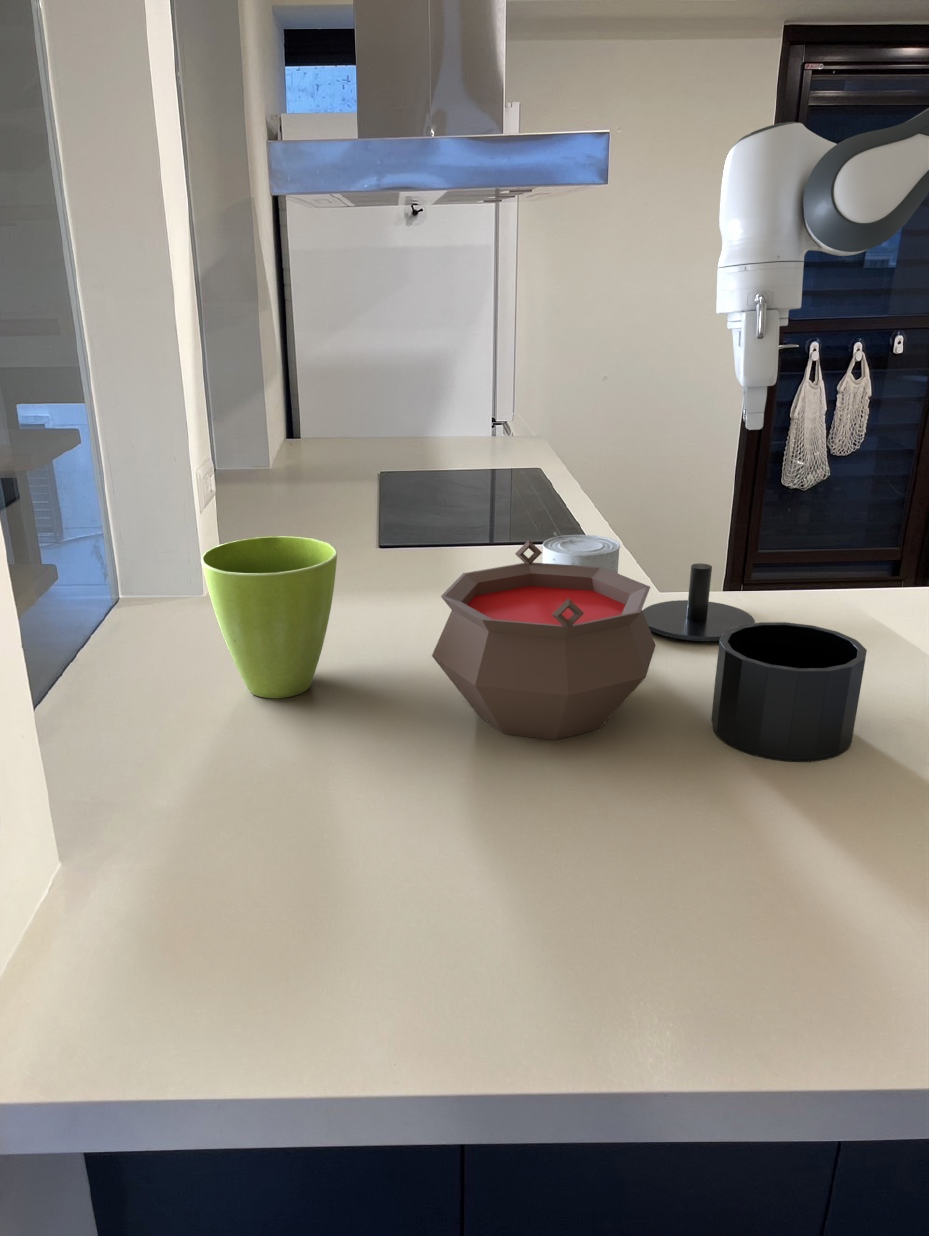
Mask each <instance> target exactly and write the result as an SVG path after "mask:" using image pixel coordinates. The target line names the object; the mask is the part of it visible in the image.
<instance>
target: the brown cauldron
mask: <svg viewBox="0 0 929 1236" xmlns="http://www.w3.org/2000/svg"><path fill="white" fill-rule="evenodd" d="M527 550H530V551H531V552H532V554H531V555H530V556H529V557H528V556H527V555H526V554H525V553H526V552H527ZM542 554H543V551H541V550H540V549H539V548H538V547H537V546H536V545H535V544H534V542H532V541H531V540H530V539H528V540H527V541H526V542H525V543H524V544H523V545H522V546H521V547H520V548H519V549H517V551H516V552H515V553H514V555H515V556H516V557H518V558H519V559H520V560H521V561H522V562H521V563H515V564H508V565H503V566H497V567H491V568H485V569H480V570H473V571H468V572H463V573H462V574H461V575H459V577H458V578H457V579H456V580H455V581H454V582H453V583H452V584H451V585H450V586H449V587H448V588H447V589H446V590H445V591H444V592H443V593H442V594H441V595H440V598H442V600H443V601H444V603H445V604H446V605H447V606H448V607H449V609H451V611H450V613H449V616H448V618H447V620H446V622H445V624H444V627H443V629H442V631H441V634H440V636H439V638H438V640H437V642H436V645H435V647H434V649H433V652H432V654H431V657H432V658H433V659H434V661H435V663H437V665H438V666H439V667H440V669H441V670H442V671H443V673H444V674H445V675H446V676H447V677H448V679H449V680H450V682H451V683H452V684H453V685H454V686H455V688H456V689H457V691H459V693H460V695H462V697H463V699H465V701H466V702H467V703H468V705H469V706H470V707H471V708H472V710H473V711H474V712H475V714H476V715H477V716H479V717H480V718H481V719H482V720H484V721H485V722H486V723H488V724H490V725H491V726H492V727H493V728H495V729H496V730H498V731H499V732H500V733H502V734H503V735H510V736H516V737H517V736H519V737H526V738H533V739H541V740H542V739H544V740H551V741H559V740H561V739H566V738H569V737H573V736H578V735H582V734H585V733H589V732H594V731H597V730H600V729H601V728H602V727H603V726H604V725H605V724H606V722H607V721H608V720H609V719H610V718H611V717H612V716H613V715H614V713H616V711H617V710H618V709H619V708H620V707H621V706H622V705H623V703H624V702H625V701H626V700H627V699H628V698H629V696H631V695H632V693H633V692H634V691H635V690H636V689H637V688H638V686H639V685H640V684H641V683H642V682H644V680H645V679H646V678H647V676H648V675H647V674H648V671H649V668H650V665H651V662H652V660H653V655H654V652H655V649H656V646H657V644H656V642H655V638H654V636H653V634H652V631H651V630H650V629H649V626H648V624H647V621H646V619H645V616H644V614H643V611H642V610H643V609H644V608H643V607H644V606H645V603H646V600H647V598H648V594H649V592H650V589H651V586H650V585H648V584H645V583H642V582H639V581H638V580H635V579H633V578H630V577H628V576H625V575H622V574H620V573H619V572H618V573H615V572H613V571H610V570H608V569H605V568H603V567H593V566H578V565H563V564H548V563H543V562H535V560H536V559H538V557H539V556H541V555H542Z"/></svg>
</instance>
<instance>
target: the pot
mask: <svg viewBox="0 0 929 1236" xmlns="http://www.w3.org/2000/svg"><path fill="white" fill-rule="evenodd" d="M717 652H718V653H717V660H716V670H715V679H714V690H713V698H712V706H711V707H712V708H711V717H710V718H711V719H710V721H711V729H712V731H713V733H714V734H715V736H716V737H717V738H718V739H719V740H721V741H722V742H723V743H725V744H727V745H728V746H729V747H732V748H733V749H735V750H738V751H740V752H743V753H746V754H749V755H752V756H755V757H759V758H764V759H769V760H774V761H782V762H796V763H797V762H798V763H803V762H806V763H807V762H818V761H824V760H828V759H832V758H836V757H838V756H840V755H842V754H844V753H845V752H846V751H848V750H849V749H850V747H851V745H852V743H853V736H854V731H855V725H856V724H855V723H856V719H857V712H858V707H859V699H860V694H861V689H862V684H863V683H862V682H863V676H864V670H865V666H866V665H865V664H866V658H867V652H868V651H867V648H865V646H863V644H861V642H860V641H859V640H857V639H856V638H853V637H851V636H849V635H847V634H844V633H842V632H840V631H837V630H833V629H828V628H824V627H821V626H816V625H812V624H804V623H795V622H786V621H782V622H781V621H779V622H778V621H773V622H769V621H768V622H766V621H765V622H764V621H763V622H762V621H760V622H755V623H753V624H747V625H741V626H737V627H735V628H733V629H730V630H728V631H726V632H724V633H723V635H722V637H721V639H720V641H718V651H717Z"/></svg>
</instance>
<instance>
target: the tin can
mask: <svg viewBox="0 0 929 1236" xmlns="http://www.w3.org/2000/svg"><path fill="white" fill-rule="evenodd" d="M620 549H621V544H620V542H618V541H616V540H615V539H612V538H609V537H605V536H601V535H592V534H564V535H557V536H553V537H550V538H547V539H546V540H543V542H542V563H548V564H563V565H578V566H593V567H603V568H605V569H608V570H610V571H613V572H615V573H618V574H619V558H620Z"/></svg>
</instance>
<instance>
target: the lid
mask: <svg viewBox="0 0 929 1236" xmlns="http://www.w3.org/2000/svg"><path fill="white" fill-rule="evenodd" d="M712 571H713V566H712V565H711V564H707V563H701V562H700V563H692V564H691V565H690V575H689V585H688V587H689V588H688V595H687V596H688V597H687V600H686V599H684V600H683V599H681V600H670V601H669V600H668V601H662V602H661V601H660V602H657V603H654V604H651V605H648V606H646V607H645V608H642V611H643V614H644V616H645V619H646V621H647V624H648V626H649V629H650V631H651V632H653V633H656V634H658V635H661V636H665V637H669V638H672V639H678V640H684V641H693V642H719V641H720V639H721V637H722V635H723V633H724V632H726V631H728V630H730V629H733V628H735V627H737V626H741V625H747V624H753V623H756V621H755V618H754V617H753V616H752V615H751V614H750V613H748V612H747V611H746V610H743V609H741V608H738V607H736V606H732V605H729V604H725V603H720V602H715V601H710V592H711V581H712Z"/></svg>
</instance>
